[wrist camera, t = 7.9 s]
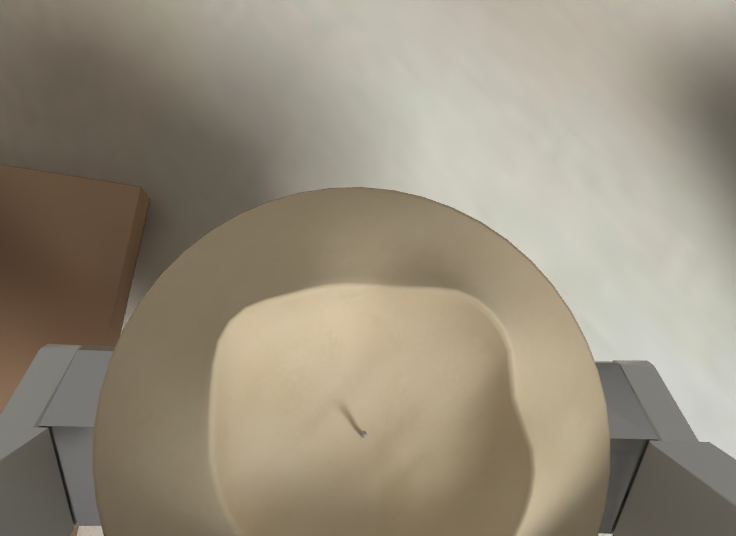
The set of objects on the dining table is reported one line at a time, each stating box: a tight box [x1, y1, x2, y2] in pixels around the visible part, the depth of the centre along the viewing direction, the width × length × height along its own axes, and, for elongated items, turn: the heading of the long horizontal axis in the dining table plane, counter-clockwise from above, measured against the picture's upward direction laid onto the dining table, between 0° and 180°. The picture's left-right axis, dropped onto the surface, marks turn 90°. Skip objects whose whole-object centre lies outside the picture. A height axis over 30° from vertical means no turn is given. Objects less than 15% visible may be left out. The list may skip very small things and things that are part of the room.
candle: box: [92, 187, 610, 536], centre depth 11 cm, size 6×6×10 cm
